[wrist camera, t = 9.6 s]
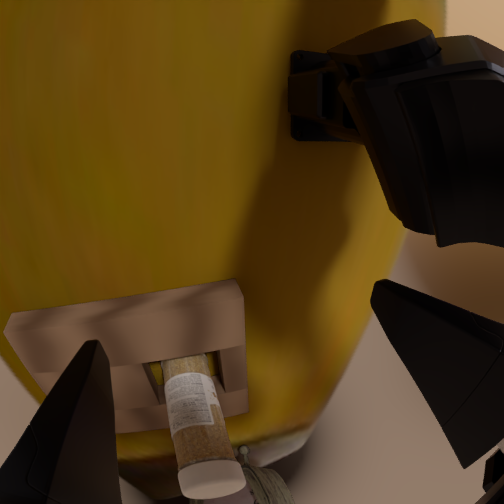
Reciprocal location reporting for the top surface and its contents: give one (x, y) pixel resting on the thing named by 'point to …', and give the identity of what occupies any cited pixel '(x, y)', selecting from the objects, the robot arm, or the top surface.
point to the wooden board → (141, 345)
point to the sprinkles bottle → (199, 430)
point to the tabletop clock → (254, 487)
